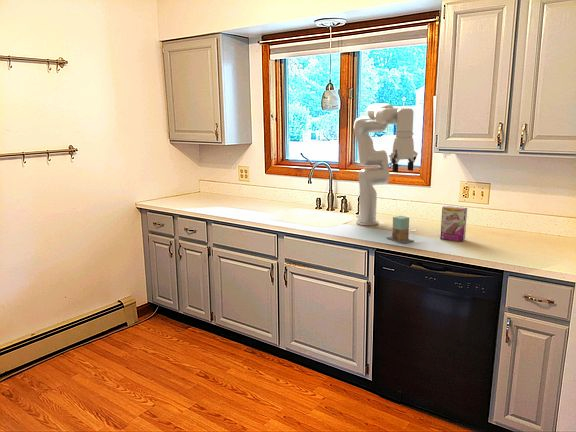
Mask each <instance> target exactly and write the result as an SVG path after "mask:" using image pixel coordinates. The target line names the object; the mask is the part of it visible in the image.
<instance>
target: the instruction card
mask: <svg viewBox="0 0 576 432" xmlns="http://www.w3.org/2000/svg"><path fill="white" fill-rule="evenodd" d="M417 231H418V230H417V229H413V228H410V227H409V232H417Z"/></svg>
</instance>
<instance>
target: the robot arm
mask: <svg viewBox="0 0 576 432" xmlns="http://www.w3.org/2000/svg"><path fill="white" fill-rule="evenodd" d="M366 115H367V116H360V117H357V118H356V119H355V120H354V123H353V132H354V136H355V139H356V142H357V150H358V159H359V163H360V165H361V166H363V167H367V168H363V169H361V170H360V171H359V172H358V174H357V175H358V177H357V178H358V183H359V209H358V213H359V214H356V215H355V217H356V218H357V220H356V225H360V226H378V225H379V220H377V199H378V198H377V197H378V196H377V191H376V189H375V187H374V186H379V185H380V186H382V185H387V184H388V183H389V181H390V167H389V160H390V162H391V164H392V172H394V173H399V161H400V160H407V161H408V162H407V171H409V172H410V171H411V172H412V171H414V163H415V162H416V159H417V156H418V155H419V154H418V153H419V152H417V151H415V145H414V138H413V136H414V132H413V130H414V109H412V108H397V107H396V108H395V107H394V106H393V105H392V104H391V103H372V104H370V105H368V107H367V108H366ZM389 125H396V131H395V133H396V134H395V138H394V140H393V144H392V152H390V154H389V155H388V154H387V151H386V150H385V149H383V148H374V140H373V138H371V136H370V135H369V133H382V132H384V131H386V129H387V128H388V126H389ZM388 156H389V157H388ZM368 167H369V168H368ZM370 167H371V168H370ZM374 167H375V168H374Z"/></svg>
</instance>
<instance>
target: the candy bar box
mask: <svg viewBox="0 0 576 432" xmlns="http://www.w3.org/2000/svg"><path fill="white" fill-rule="evenodd" d="M467 217H468V207H463V206H462V207H461V206H451V205H444V206H442V208H441V221H440V222H441V224H440V237H439V239H440V240H446V241H453V242H454V241H455V242H461V243H463V242H464V241H465V240H466V232H467V231H466V230H467V229H466V228H467Z"/></svg>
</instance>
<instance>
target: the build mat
mask: <svg viewBox="0 0 576 432" xmlns="http://www.w3.org/2000/svg"><path fill="white" fill-rule="evenodd" d="M386 239H387V240H389V241H393V242H396V243H399V244H403V245H404V244H405V245H406V244H410V243H415V240H413V239H409V238H408V240H403V241H398V240H395V239H392V236H387V237H386Z"/></svg>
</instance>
